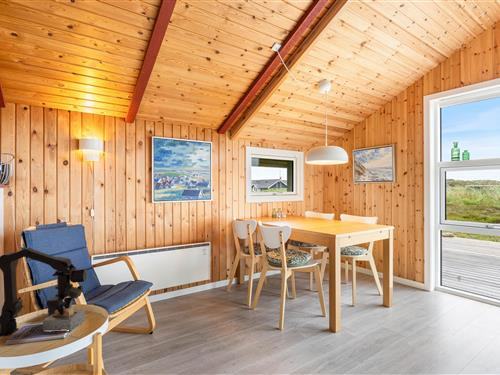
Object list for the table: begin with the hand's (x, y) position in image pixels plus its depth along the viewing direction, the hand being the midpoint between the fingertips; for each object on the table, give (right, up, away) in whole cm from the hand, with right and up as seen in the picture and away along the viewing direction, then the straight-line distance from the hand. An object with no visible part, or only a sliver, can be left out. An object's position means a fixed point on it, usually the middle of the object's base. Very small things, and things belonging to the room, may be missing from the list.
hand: (64, 313), depth 148 cm
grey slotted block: (0, -7, 0) cm, 7 cm away
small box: (-12, -7, +14) cm, 20 cm away
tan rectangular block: (0, -1, 0) cm, 1 cm away
